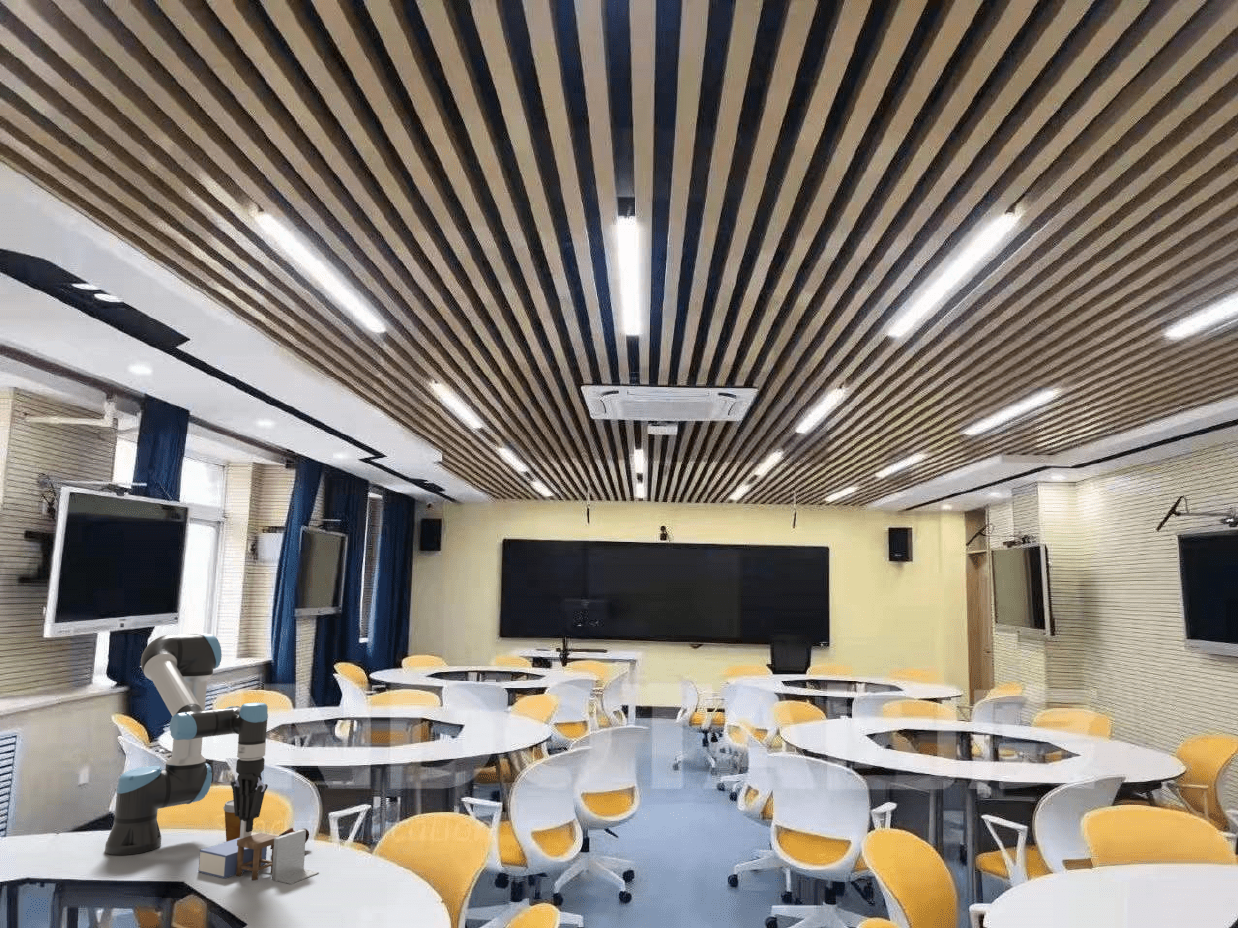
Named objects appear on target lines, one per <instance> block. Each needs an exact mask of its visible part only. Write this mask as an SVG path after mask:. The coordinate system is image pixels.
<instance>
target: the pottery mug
mask: <svg viewBox="0 0 1238 928" xmlns="http://www.w3.org/2000/svg"><path fill="white" fill-rule="evenodd" d="M303 829H304V830H306V839H305V844H307V842H308V841H309V838H310V832H309V830H308V828H303ZM295 831H296V830H294V827H290V828H289V829H287V830H286V831H283V832H282V833H280V834H279V835H278V836H283V835H286V834H289V833H292V832H295ZM270 850H272V845H270Z"/></svg>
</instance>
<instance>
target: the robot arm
mask: <svg viewBox="0 0 1238 928" xmlns="http://www.w3.org/2000/svg"><path fill="white" fill-rule="evenodd" d="M221 662H222V647H221V643H220V641H219V639H218V637H216V636H215V635H214V634H212V633H186V634H165V635H161V636H158V637H157V638H155V639H153V640H152V641H151V642H150V643H148V645H147V646H146V647H145V648H144V650H143V652H142V654H141V658H140V667H141V670H142V673H143V675H144V676H145V678H147V679H149V680H150V681H152V682H153V685H154V687H155V689H156V690H157V692H158V693H159V695H160V697H161V699H162V701H163V702H164V704H165V707H166V708H167V710H168V711H169V713H170V714H171V719H170V722H169V731H170V736H171V738H172V739H173V740H172V752H171V757H170V758H168V760H167V761H166V762H165V769H162V767H161V766H160V765H148V766H139V767H136V768H132V769H129V770H128V771H125V772H124V773H122V774H121V775H120V776H119V778H118V779H117V780H118V781H117V786H116V790H115V792H116V795H115V796H116V798H115V799H116V800H115V807H114V809H115V810H114V819H113V825H112V828H111V830H110V832H109V835H108V838H107V840H106V841H105V846H104V852H105V854H108V855H113V856H127V855H136V854H141V853H146V852H150V851H153V850H156V849H158V848H159V847H161V845H162V835H161V829H160V827H159V822H158V811H159V809H164V808H168V807H175V806H181V805H190V804H192V803H195V802H200V801H202V800H204V799H205V797H206V796H207V795H208V792H209V791H210V789H211V785H212V780H213V773H212V767H211V765H210V764H209V763H207V759H206V758H205V756H203V755H202V749H203V738H209V737H210V738H211V737H217V736H225V735H233V734H234V735H235V734H236V735H238V737H237V738H238V740H237V756H236V757H237V760H236V764H235V765H236V768H235V772H236V773H237V774H238V775H237V776H236V777H237V778H236V779H235V780H232V781H231V782H230V786H231V789H232V796H233V797H232V800H234V811H235V816H238V817H239V819H240V828H239V829H240V839H242V838H245V837H248V836H252V833H253V829H254V819H257V818H259V817H260V815H261V810H262V806H263V801H264V798H265V793H266V791H267V789H268V787H269V785H268V784H266V783H263V780H262V779H263V778H262V773H263V771H264V770H265V760H266V759H265V758H264V757H265V756H266V748H267V747H266V746H267V744H266V743H267V741H266V740H267V729H268V719H269V713H268V711H269V710H268V704H266V703H264V702H249V703H248V702H247V703H243V704H242V705H241V706H238V705H236V706H234V705H231V706H227V707H225V708H220V709H210V710H206V702H207V701H206V698H207V688H208V687H207V686H208V680H209V679H210V678H211V677H212V676H213V675H214V670H215V669H218V668H219V667H220V665H221Z"/></svg>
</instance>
